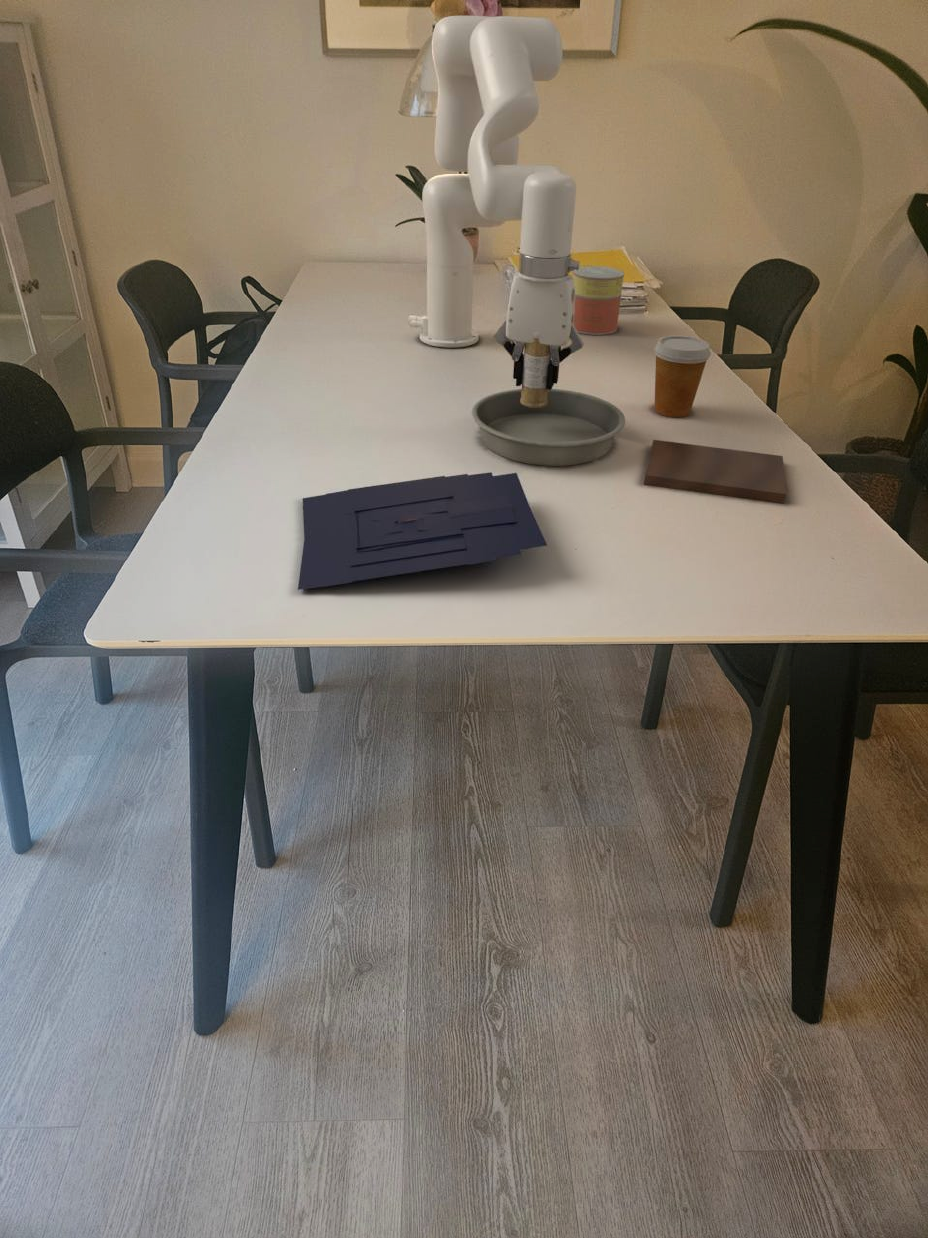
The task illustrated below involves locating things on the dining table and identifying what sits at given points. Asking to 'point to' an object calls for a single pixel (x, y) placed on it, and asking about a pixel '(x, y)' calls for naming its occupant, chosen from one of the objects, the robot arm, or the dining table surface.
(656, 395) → the disposable coffee cup
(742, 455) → the walnut serving board
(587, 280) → the canned food
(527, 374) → the sprinkles bottle
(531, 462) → the cake pan
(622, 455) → the dining table surface
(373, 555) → the papers
